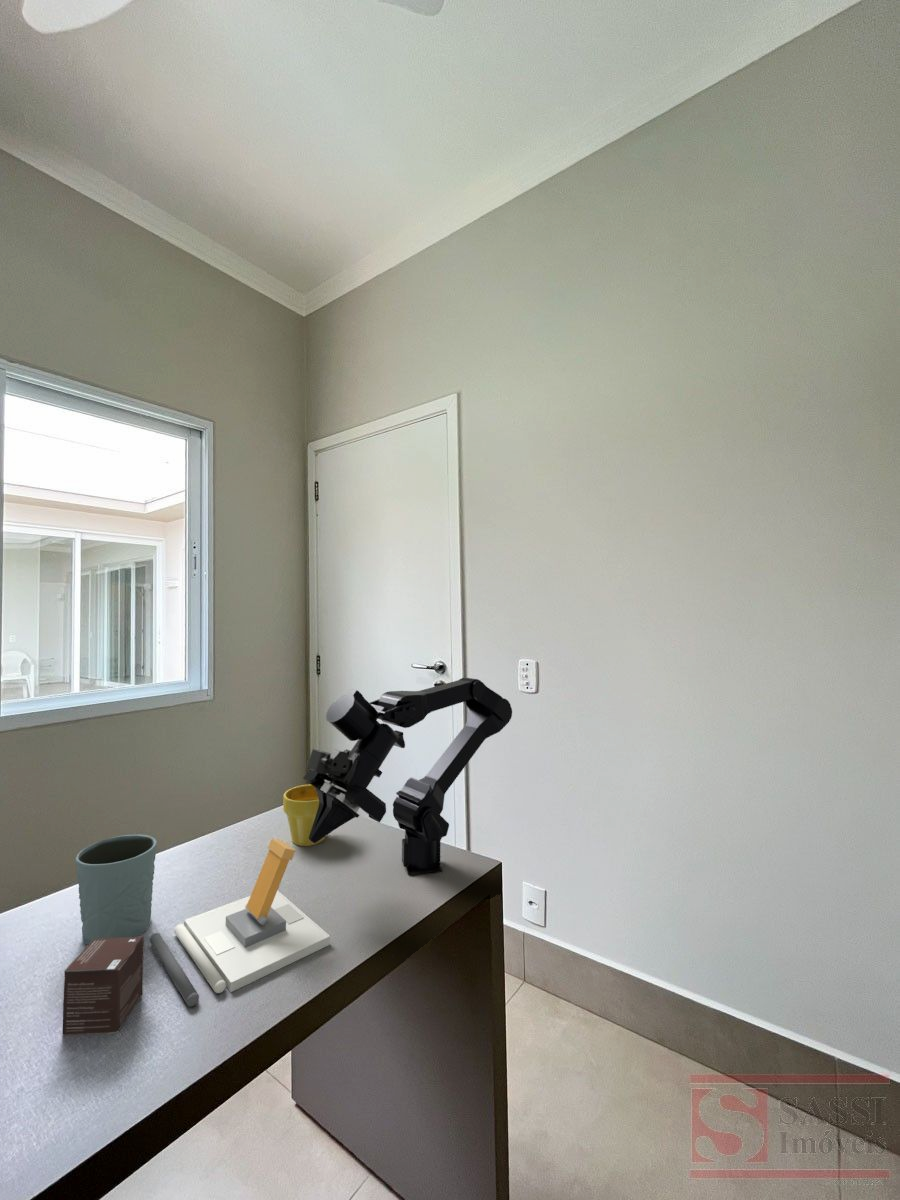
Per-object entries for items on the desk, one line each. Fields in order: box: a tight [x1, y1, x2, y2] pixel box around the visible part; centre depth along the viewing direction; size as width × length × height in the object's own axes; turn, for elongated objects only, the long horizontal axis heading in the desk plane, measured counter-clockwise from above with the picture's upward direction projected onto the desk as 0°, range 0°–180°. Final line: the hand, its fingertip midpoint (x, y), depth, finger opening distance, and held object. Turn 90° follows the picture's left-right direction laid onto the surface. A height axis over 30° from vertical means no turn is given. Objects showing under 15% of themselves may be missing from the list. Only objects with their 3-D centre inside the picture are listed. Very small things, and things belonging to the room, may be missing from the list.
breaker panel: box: [183, 889, 331, 993], centre depth 77 cm, size 14×18×2 cm
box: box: [61, 936, 145, 1037], centre depth 62 cm, size 6×6×7 cm
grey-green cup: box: [75, 833, 158, 946], centre depth 79 cm, size 10×10×12 cm
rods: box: [149, 923, 227, 1007], centre depth 70 cm, size 17×5×1 cm, turn 43°
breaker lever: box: [245, 838, 296, 925], centre depth 79 cm, size 2×5×10 cm, turn 44°
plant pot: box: [282, 783, 326, 847], centre depth 110 cm, size 10×10×10 cm
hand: (311, 841), depth 84 cm, fingers closed
